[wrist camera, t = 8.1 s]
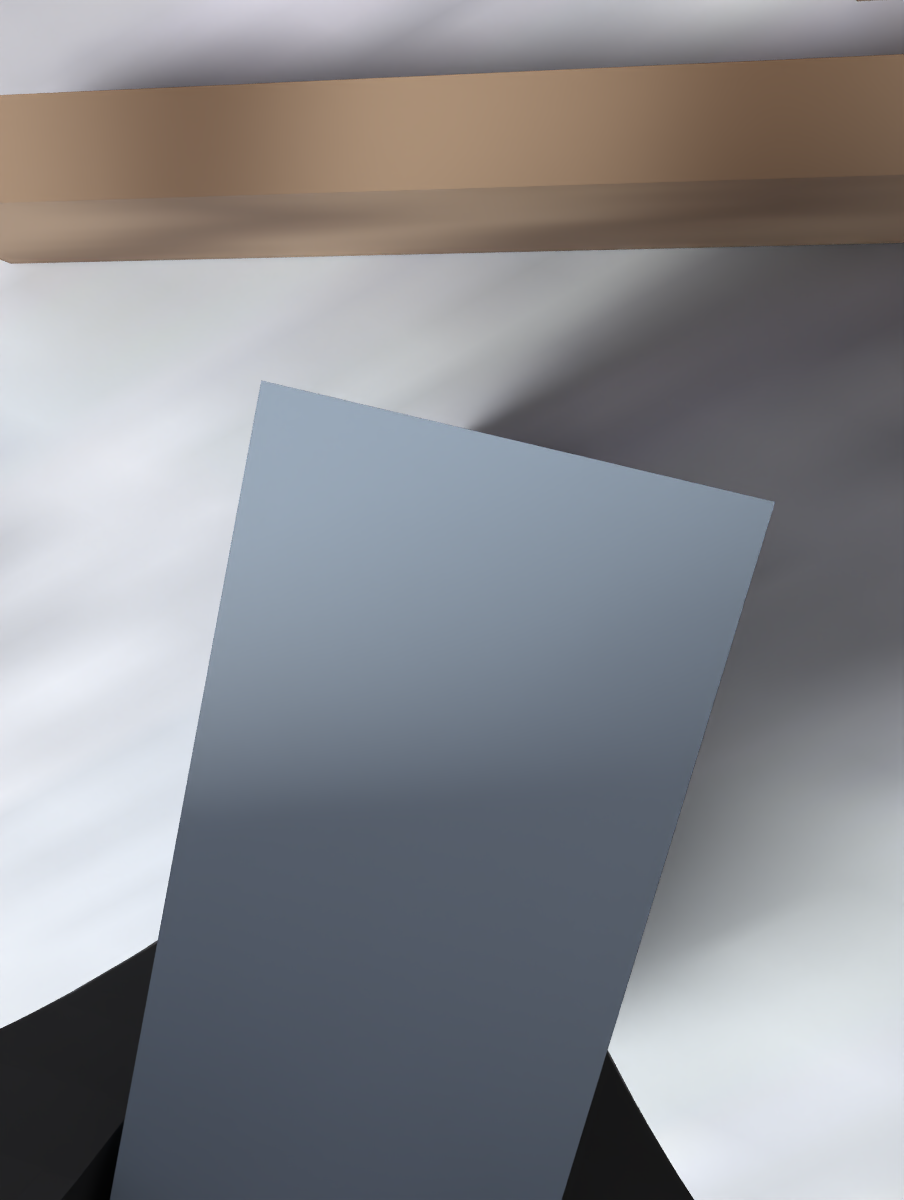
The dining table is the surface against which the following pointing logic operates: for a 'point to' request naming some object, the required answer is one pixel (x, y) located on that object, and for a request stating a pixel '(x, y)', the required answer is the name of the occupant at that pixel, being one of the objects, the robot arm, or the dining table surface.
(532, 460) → the blue grey rectangular slab
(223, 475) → the dining table surface
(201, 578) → the dining table surface
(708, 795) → the dining table surface
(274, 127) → the rack
